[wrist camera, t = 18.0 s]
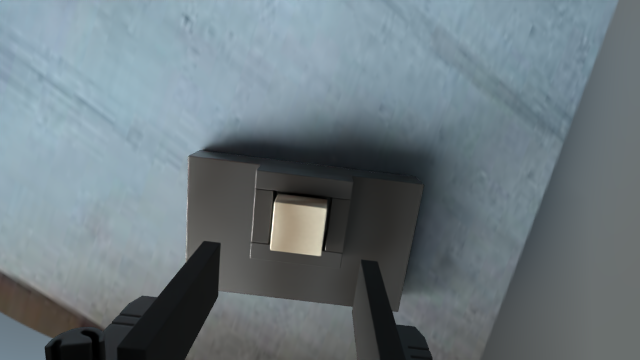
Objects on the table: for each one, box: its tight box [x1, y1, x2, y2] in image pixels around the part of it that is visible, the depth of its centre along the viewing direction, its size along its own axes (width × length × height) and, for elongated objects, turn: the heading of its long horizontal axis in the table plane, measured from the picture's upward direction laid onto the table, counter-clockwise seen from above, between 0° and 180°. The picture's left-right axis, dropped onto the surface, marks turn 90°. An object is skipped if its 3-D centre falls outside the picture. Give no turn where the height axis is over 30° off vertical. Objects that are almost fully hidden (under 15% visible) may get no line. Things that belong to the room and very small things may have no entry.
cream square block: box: [270, 194, 327, 256], centre depth 22 cm, size 3×3×2 cm
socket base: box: [186, 150, 424, 312], centre depth 25 cm, size 16×10×4 cm, turn 83°
